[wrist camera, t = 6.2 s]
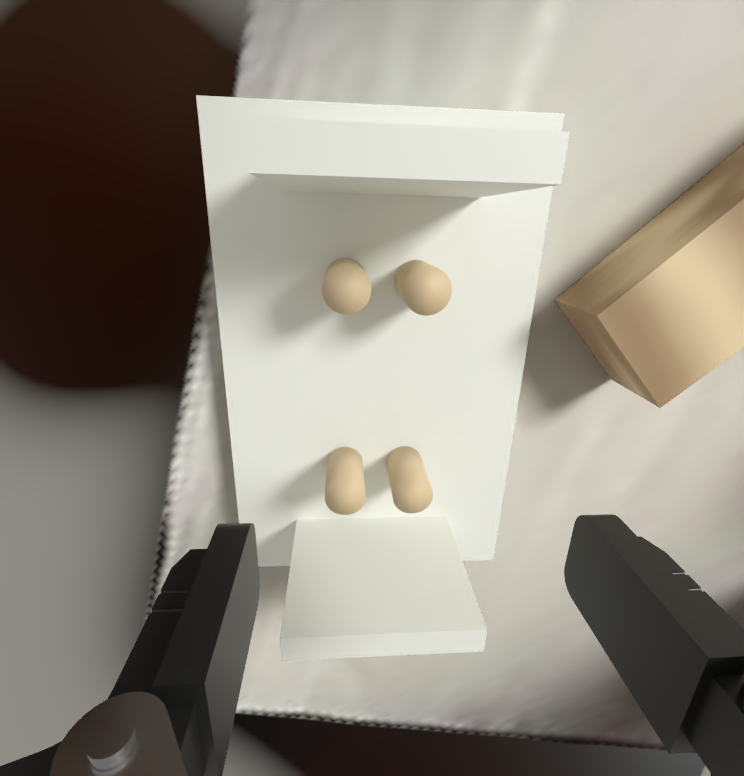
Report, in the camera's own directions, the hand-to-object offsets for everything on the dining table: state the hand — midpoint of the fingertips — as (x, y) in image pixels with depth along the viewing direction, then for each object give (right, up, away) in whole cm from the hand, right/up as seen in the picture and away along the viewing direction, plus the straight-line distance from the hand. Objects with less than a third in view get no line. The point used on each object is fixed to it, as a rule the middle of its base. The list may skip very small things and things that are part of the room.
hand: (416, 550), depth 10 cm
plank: (+15, +11, +11) cm, 21 cm away
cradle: (-1, +5, +11) cm, 12 cm away
